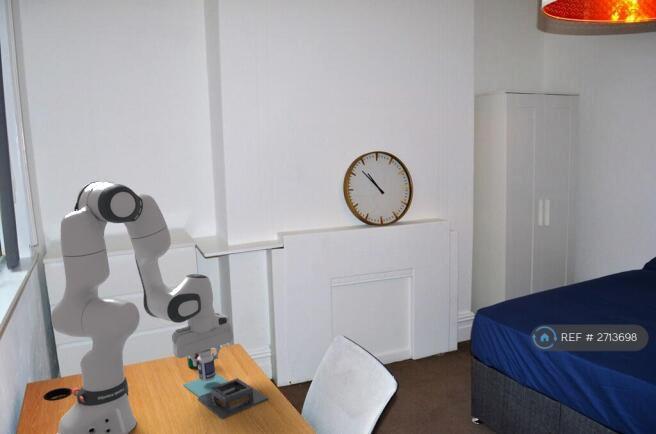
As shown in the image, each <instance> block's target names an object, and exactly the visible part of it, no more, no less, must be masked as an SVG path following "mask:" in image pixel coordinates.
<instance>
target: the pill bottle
mask: <svg viewBox="0 0 656 434" xmlns="http://www.w3.org/2000/svg"><path fill="white" fill-rule="evenodd" d="M211 349H212V348H211ZM211 349H208V350H205V351H202V352H199V357H198V358H197V359H198V360H199V365H198V368H197V370H198V379H200V380H201V381H209V380H212V379H214V378H215V373H216V367H215V360H214V357H213V355H212V350H211Z"/></svg>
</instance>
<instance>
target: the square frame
mask: <svg viewBox="0 0 656 434" xmlns="http://www.w3.org/2000/svg"><path fill="white" fill-rule="evenodd" d="M228 381H229V382H226V383H223V384H221V385H218V386H215V387H213V388H211V394H208V395H205V396H203V397H200V398H199V397H197V401H198V402H199V403H201V404H202V405H203V406H205V407H206V408H207V409H209V410H210V411H211V412H212V413H214V414H215V415H217V416H218V417H219V418H221V420H223V419H225V418H228V417H230V416H233V415H234V414H237V413H240V412H242V411H244V410H247V409H249V408H251V407H253V406H256V405H258V404H261V403H264V402H267V401H269V398H268V396H266V395H264V394H263V393H262V392H259V391H258V390H257V389H255V388H254V387H252V386H250V385H249V384H247V383H246V382H245V381H242V380H241V379H240V378H234V379H231V380H228ZM243 398H247V399H246V400H244V401H242V402H239V403H237V404H235V405H232V406H231V403H233V402H235V401H236V402H237V401H238V400H241V399H243ZM218 400H220V402H222V403H223V404H224V405H223V404H221V403H220V402H219V401H218Z"/></svg>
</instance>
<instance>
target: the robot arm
mask: <svg viewBox="0 0 656 434" xmlns="http://www.w3.org/2000/svg"><path fill="white" fill-rule="evenodd" d="M73 210H74V211H72V212H69V213H68V214H66V215H65V216H64V217H62V220H61V222H60V247H61V254H62V259H63V260H62V262H63V267H64V273H65V274H64V275H65V289H64V293H63V296H62V298H61V299H60V301H59V302H58V303H57V304H56V305H55V306H54V308H53V310H52V312H51V324H52V325H51V326H52V327H53V329H54V330H55V331H56V332H58V333H59V334H63V335H66V336H68V337H73V338H74V337H75V338H91V340H92V348H91V349H90V350H89V351H87V352H86V353H85V354H84V355H83V356H82V358H81V360H80V364H79V366H80V367H79V368H80V373H81V379H82V386H81V388H78V387H77V386H75V387H73V388H72V389H71V394H72V395H73V396H74V397H76V403H74V404H73V405H72V406H71V408H69V410H67V412H65V414H64V415H63V416H61V418H60V419H59V423H58V424H59V425H58V432H59V433H58V432H57V433H55V434H129V433H130V432H131V431H132V430H133V429H134V428H135V427H136V425H137V418H136V417H135V415H134V412H133V410H132V406H131V404H130V400H129V383H128V380H127V377H126V376H125V369H124V368H125V367H124V348H125V345H126V342H127V340H128V339H129V338H130V337H131V336H132V335H133V334H134V333H135V332H136V330H137V328H138V327H139V325H140V317H141V316H140V312H139V309H138V306H137V305H136V304H135V303H133V302H132V301H129V300H124V299H120V298H105V297H104V298H101V297H99V294H98V293H99V286H101V285H102V284H103V283H105V282H106V281H107V279H109V276H110V274H111V272H110V265H109V264H110V263H109V258H108V252H107V251H108V250H107V246H106V240H105V237H104V236H105V230H106V226H107V225H108V223H110V224H111V223H113V224H124V226H125V228H126V230H127V231H126V232H127V234H128V236H129V239H130V242H131V245H132V247H133V251H134V260H135V265H136V266H137V267H136V268H137V271H138V275H139V278H140V282H141V285H142V290H143V299H142V300H143V308H144V311H145V312H146V314H148V315H149V316H150V317H153V318H157V319H162V320H165V321H168V322H173V323H177V324H180V323H184V322H186V321H187V326H185V327H182V328H177V329H175V331H174V332H173V333H172V334H171V340H172V354H173V355H174V356H175V357H176V358H177V359H183V358H187V356H189V357H190V358H191V359H192V360H193V365H194V366H198V365H199V360H198V359H195V358H194V357H195V354H196V353H199V352H202V351H205V350H208V349H213V348H214V351H213V353H212V352H211V355H213V357H214V361H216V360H218V359H219V352H220V350H221V346H223V345H227V344H228V343H232V342H233V340H234V331H233V327H232V324H231V323H230V317H229V316H227V315H226V314H224V313H220V312H215V308H214V306H213V304H214V303H213V302H214V295H213V287H212V283H211V280H210V278H209V276H207V275H204V274H200V273H193V274H188V275H185V276H184V279H183V281H182V282H181V283H180V284H179V285H178V286H177V287H176V288H174V289H172V288H169V286H167V285H166V284H165V283H164V281H163V278H162V273H161V270H160V266H159V265H160V264H159V259H160V258H161V257H163V256H164V255H165V254H166V253H167V252H168V251H169V249H170V247H171V244H172V242H171V241H172V239H171V234H170V230H169V227H168V225H167V222H166V220H165V217H164V214H163V213H162V210H161V207H159V205H158V203H157V202H156V200H155V199H154V197H152V196H151V195H149V194H145V193H140V194H137V193H135V191H134V190H133V189H131V188H130V187H128V186H126V185H124V184H121V183H120V184H119V183H115V182H111V181H93V182H90V183H86V185H84V186H83V187H82V188H81V189H80V190H79V192H78V195H77V199H76V203H75V205H74V208H73Z"/></svg>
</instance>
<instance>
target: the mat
mask: <svg viewBox="0 0 656 434" xmlns="http://www.w3.org/2000/svg"><path fill="white" fill-rule="evenodd" d="M229 381H230V380H227V379H226V378H224V377H223V376H222V375H220V374H218V373H217V372H215V378H214V379H212V380H209V381H201V380H200V379H199V378H198V379H194V380H192V381H189V382H186V383H183V384H182V385H183V388H186V389H187V390H189V392H191V393H192V394H193V395H195V396H196V397H197V398H200V397H203V396H205V395H208V394H211V388H213V387H215V386H218V385H221V384H223V383H226V382H229Z"/></svg>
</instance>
